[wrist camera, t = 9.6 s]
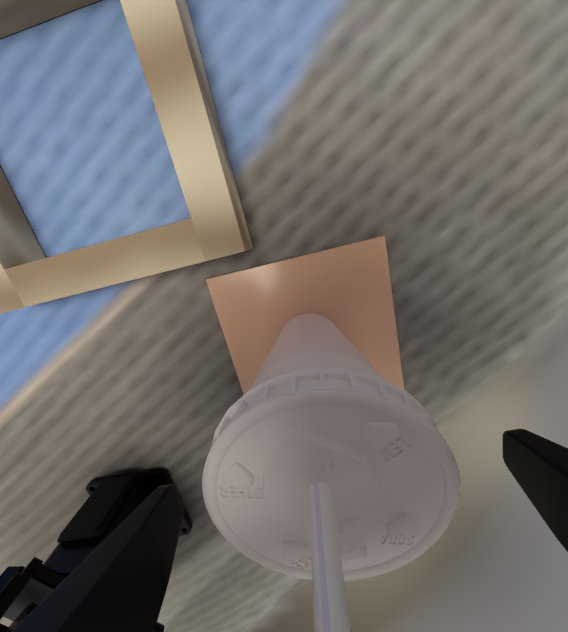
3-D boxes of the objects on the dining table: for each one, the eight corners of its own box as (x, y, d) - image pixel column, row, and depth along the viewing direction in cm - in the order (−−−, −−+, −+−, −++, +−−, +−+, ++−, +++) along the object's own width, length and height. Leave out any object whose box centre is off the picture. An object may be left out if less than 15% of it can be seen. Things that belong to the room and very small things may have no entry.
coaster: (401, 391, 17) (405, 396, 16) (254, 417, 18) (253, 423, 18) (381, 235, 14) (384, 235, 14) (208, 278, 15) (205, 279, 15)
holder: (253, 248, 15) (245, 251, 12) (36, 303, 16) (-8, 315, 14) (160, -94, 11) (122, -188, 8) (-115, 21, 12) (-215, -32, 10)
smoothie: (343, 272, 14) (1041, 877, 1) (377, 369, 16) (796, 1081, 3) (238, 314, 15) (-169, 886, 2) (281, 401, 17) (224, 1028, 4)
